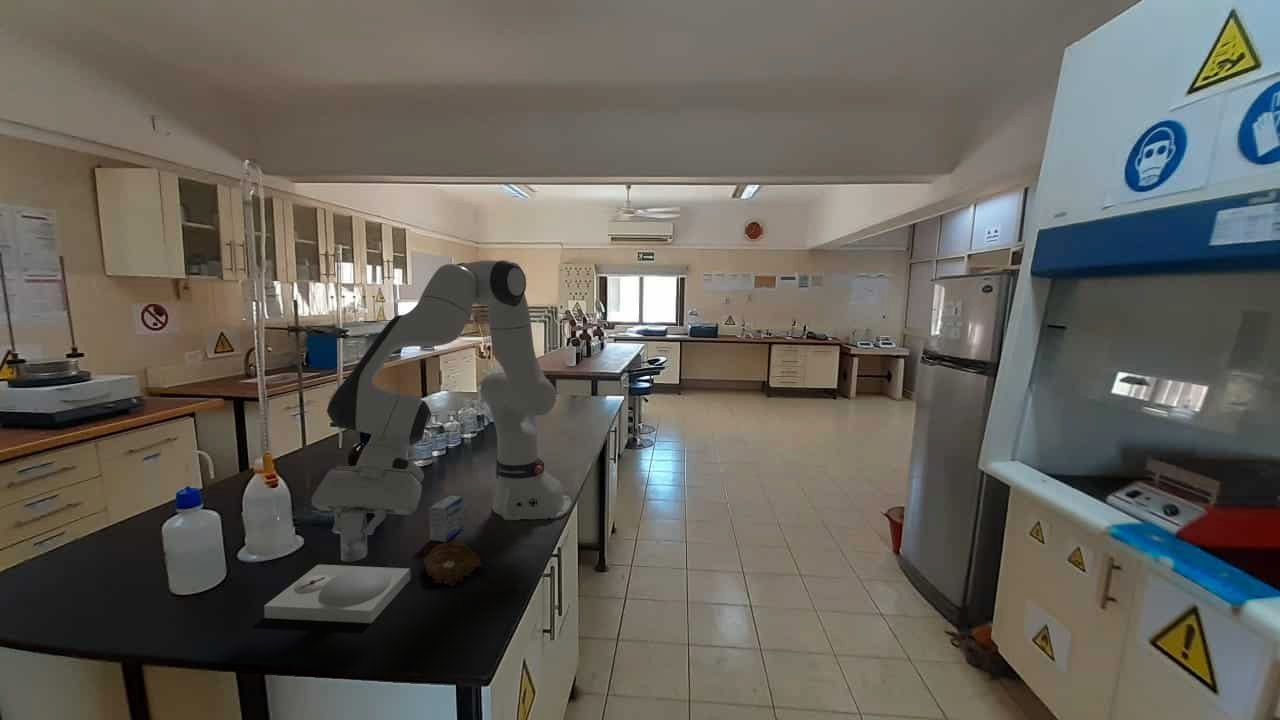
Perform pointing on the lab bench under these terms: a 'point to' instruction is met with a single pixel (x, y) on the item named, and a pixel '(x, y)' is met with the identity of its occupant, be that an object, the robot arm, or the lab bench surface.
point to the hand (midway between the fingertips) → (351, 533)
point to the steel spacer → (353, 534)
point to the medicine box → (446, 518)
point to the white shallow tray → (339, 594)
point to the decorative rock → (451, 562)
